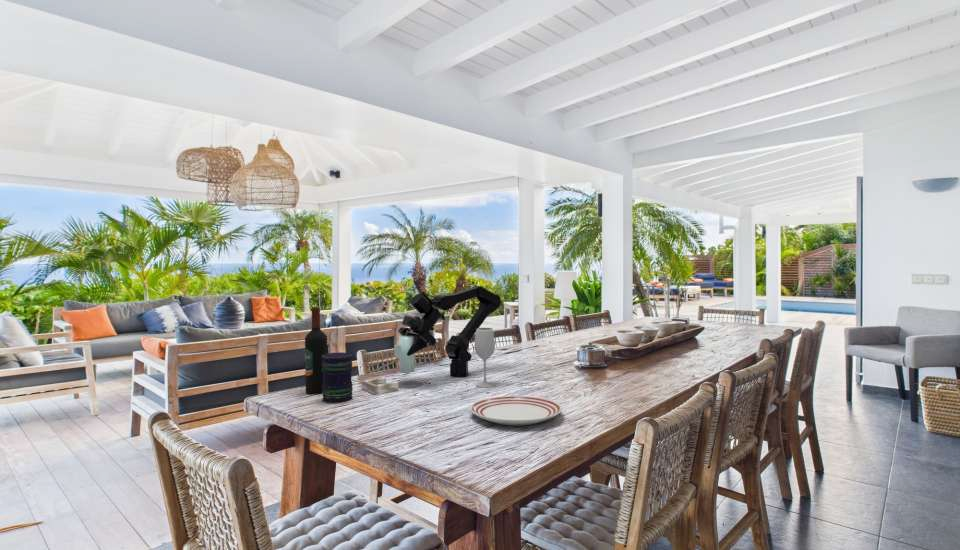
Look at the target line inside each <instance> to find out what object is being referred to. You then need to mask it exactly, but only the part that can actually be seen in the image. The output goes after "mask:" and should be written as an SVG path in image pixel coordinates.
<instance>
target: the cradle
mask: <svg viewBox="0 0 960 550" xmlns="http://www.w3.org/2000/svg"><path fill="white" fill-rule="evenodd" d="M362 389H363V390H362ZM361 390H362V391H365V392H367V391H368V392H367V393H369V392H370V393H369V394H372V393H373V394H372V395H374V394H378V395H381V394H380V393H383V394H386V393H385V392H388V393H392V392H391V391H393V392H397V391H396V390H398V391H399V388H398V381H393V382H388V383H387V377H378V378H373V379H367V380H361Z"/></svg>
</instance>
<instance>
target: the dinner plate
mask: <svg viewBox="0 0 960 550" xmlns="http://www.w3.org/2000/svg"><path fill="white" fill-rule="evenodd" d="M562 410H563V407H562V406H561V404H559V402H556V401H554V400H550V399H548V398H544V397H538V396H529V395H502V396H501V395H499V396H492V397H487V398H483V399H480V400H477V401H473V403H471V404H470V406H469V411H470V413H472V414H474V416H477V417H478V418H479V419H480V418H481V419H483V420H487V421H488V422H491V423H494V424H498V425H504V426H529V425H535V424H539V423H541V422H545V421H547V420H550V419H552V418H555V417H556V416H557V415H559V414H560V413H561V412H562Z"/></svg>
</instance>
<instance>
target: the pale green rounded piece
mask: <svg viewBox="0 0 960 550" xmlns="http://www.w3.org/2000/svg"><path fill="white" fill-rule="evenodd" d="M413 343H414V336H412V335H404V336H402V335H399V336H398V344H395V345H393V347H394V348H393V350H394V353H393V354H394V355H393V357H394V358H398V359H399V360H398V363H399V365H398V367H399V373H402V374H403V373H405V374H409V373H413V372H415V371H416V370H415V353H414V354H412V355H410V356H408V355H407V353H408V351H409V349H410V348H411V346H412V344H413Z"/></svg>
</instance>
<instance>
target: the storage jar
mask: <svg viewBox="0 0 960 550" xmlns="http://www.w3.org/2000/svg"><path fill="white" fill-rule="evenodd" d="M352 357H353V354H352V353H351V352H331V353H330V352H329V353H328V354H324V355H322V359H323V360H322V373H323V384H322V402H323V403H325V402H326V403H325V404H341V403H342V402H343V403H347V401H348V402H350V401H352V400H353V389H354V388H353V385H354V384H353V381H352V371H353V360H352V359H353V358H352ZM351 399H352V400H351Z"/></svg>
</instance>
